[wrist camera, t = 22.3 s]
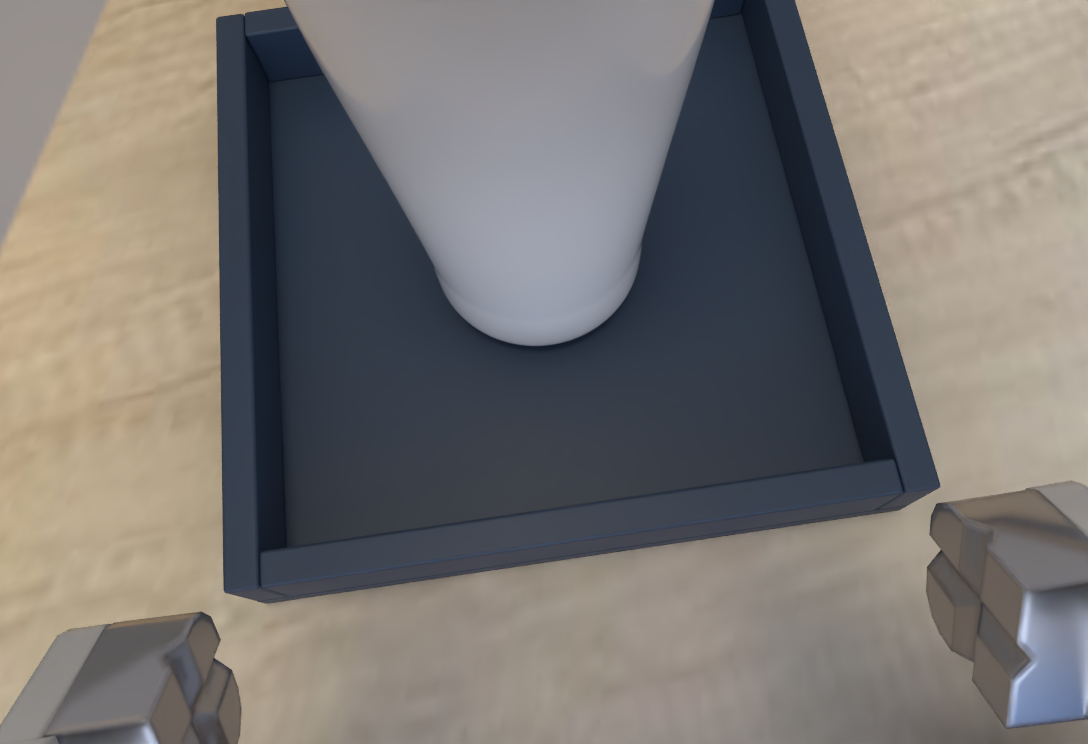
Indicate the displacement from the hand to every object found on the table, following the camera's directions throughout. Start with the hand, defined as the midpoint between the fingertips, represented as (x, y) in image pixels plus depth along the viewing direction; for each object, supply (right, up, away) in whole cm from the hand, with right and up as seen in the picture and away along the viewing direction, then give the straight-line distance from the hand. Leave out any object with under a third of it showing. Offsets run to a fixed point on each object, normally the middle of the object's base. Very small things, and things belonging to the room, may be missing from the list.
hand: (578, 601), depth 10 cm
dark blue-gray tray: (-1, +5, +14) cm, 15 cm away
